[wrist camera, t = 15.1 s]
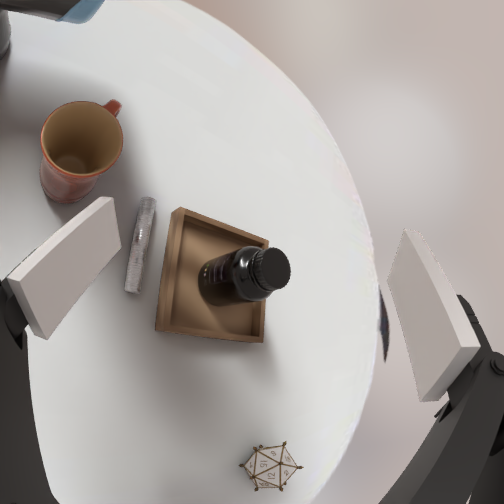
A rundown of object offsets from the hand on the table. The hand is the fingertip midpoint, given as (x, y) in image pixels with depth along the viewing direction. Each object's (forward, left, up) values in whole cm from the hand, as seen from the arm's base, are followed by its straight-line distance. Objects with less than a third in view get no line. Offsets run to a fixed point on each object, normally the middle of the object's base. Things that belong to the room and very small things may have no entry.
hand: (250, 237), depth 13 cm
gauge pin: (-7, +4, -27) cm, 28 cm away
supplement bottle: (-5, +16, -26) cm, 31 cm away
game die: (+23, +26, -27) cm, 44 cm away
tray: (-5, +16, -27) cm, 31 cm away
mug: (-14, -7, -27) cm, 31 cm away
